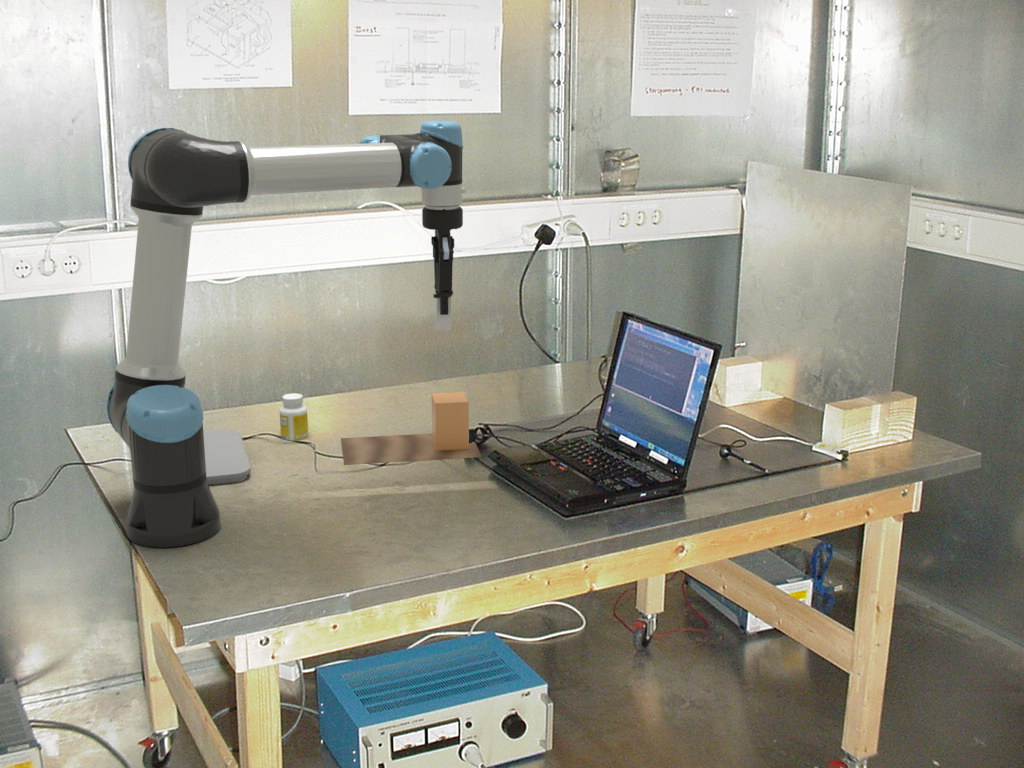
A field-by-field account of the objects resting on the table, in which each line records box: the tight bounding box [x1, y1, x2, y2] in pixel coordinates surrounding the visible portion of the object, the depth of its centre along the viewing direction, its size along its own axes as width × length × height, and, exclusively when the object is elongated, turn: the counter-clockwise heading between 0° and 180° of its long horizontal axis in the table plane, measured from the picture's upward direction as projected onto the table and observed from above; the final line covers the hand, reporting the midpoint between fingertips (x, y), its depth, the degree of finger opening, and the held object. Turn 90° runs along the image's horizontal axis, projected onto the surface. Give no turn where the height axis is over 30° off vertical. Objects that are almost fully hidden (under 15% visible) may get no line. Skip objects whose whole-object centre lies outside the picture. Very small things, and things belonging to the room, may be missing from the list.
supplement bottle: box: [279, 392, 309, 441], centre depth 244 cm, size 5×5×10 cm
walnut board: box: [340, 432, 482, 466], centre depth 239 cm, size 26×15×2 cm, turn 100°
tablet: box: [203, 428, 251, 486], centre depth 235 cm, size 16×26×2 cm, turn 17°
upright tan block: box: [431, 391, 470, 451], centre depth 240 cm, size 6×6×10 cm
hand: (443, 329), depth 235 cm, fingers closed
